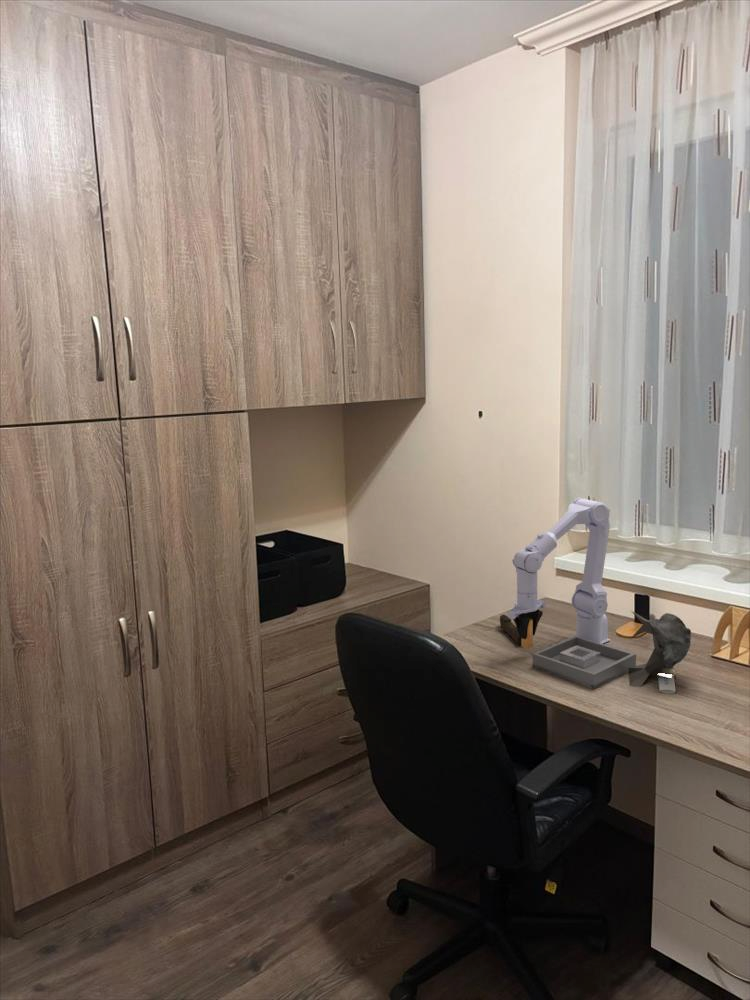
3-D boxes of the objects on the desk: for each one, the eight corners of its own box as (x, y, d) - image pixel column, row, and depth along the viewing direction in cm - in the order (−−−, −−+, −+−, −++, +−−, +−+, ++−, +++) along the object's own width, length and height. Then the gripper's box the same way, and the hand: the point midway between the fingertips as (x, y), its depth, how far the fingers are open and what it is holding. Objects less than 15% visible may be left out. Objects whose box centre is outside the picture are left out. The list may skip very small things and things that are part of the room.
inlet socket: (576, 653, 218) (576, 645, 218) (600, 661, 212) (600, 652, 212) (559, 661, 213) (559, 652, 213) (583, 669, 207) (583, 660, 206)
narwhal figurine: (692, 691, 194) (695, 624, 190) (629, 685, 198) (631, 620, 195) (686, 669, 207) (689, 606, 204) (627, 664, 211) (629, 603, 208)
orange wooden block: (526, 643, 221) (526, 617, 220) (535, 645, 219) (535, 619, 217) (519, 645, 219) (519, 619, 218) (527, 648, 217) (528, 622, 215)
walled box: (574, 648, 224) (575, 635, 224) (635, 667, 209) (636, 653, 209) (532, 667, 212) (532, 653, 211) (594, 689, 197) (594, 674, 196)
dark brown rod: (530, 646, 228) (530, 632, 227) (517, 647, 227) (517, 633, 226) (509, 625, 246) (509, 612, 245) (497, 626, 245) (497, 613, 245)
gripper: (531, 583, 223) (531, 626, 226) (499, 594, 214) (500, 639, 217) (551, 587, 218) (551, 632, 221) (519, 599, 209) (519, 645, 211)
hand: (527, 636), depth 218 cm, fingers closed on orange wooden block, 3 cm apart
